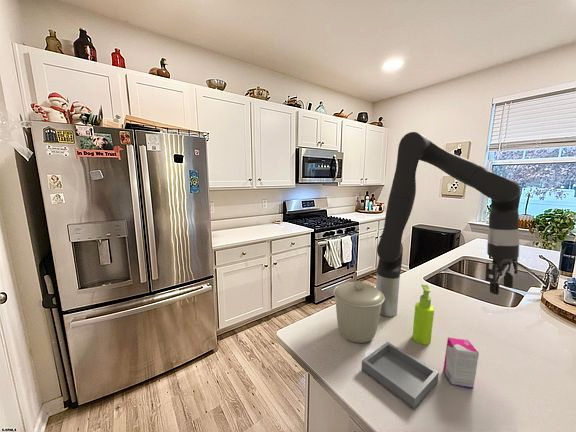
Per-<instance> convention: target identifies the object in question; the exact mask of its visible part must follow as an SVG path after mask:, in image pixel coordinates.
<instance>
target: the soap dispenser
mask: <svg viewBox="0 0 576 432" xmlns="http://www.w3.org/2000/svg"><path fill="white" fill-rule="evenodd" d="M420 286H421V287H422V290H423V293H422V295H420V297H419V301H417V302H416V303H415V305H414V316H413V325H412V326H413V327H412V335H411V336H412V339H413V340H414V341H415V342H416V343H418V344H420V345H424V346H425V345H430V344H431V341H432V333H433V325H434V324H433V323H434V316H435V314H434V313H435V307H434V306H433V305H432V303H431V302H432V297H431V296H430V293H431V289H430V287H429V285H427V284H421V285H420Z"/></svg>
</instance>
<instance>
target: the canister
mask: <svg viewBox="0 0 576 432" xmlns="http://www.w3.org/2000/svg"><path fill="white" fill-rule="evenodd" d="M332 293H333V295H334V298H335V309H336V311H335V312H336V321H337V327H338V331H339V333H340V334H341V335H342V336H343V338H345V339H346V340H348V341H350V342H353V343H356V344H357V343H358V344H360V343H361V344H363V343H364V344H365V343H368V342H370V341H372V340H373V339H374V337H375V335H376V333H377V329H378V325H379V320H380V316H381V315H380V312H381V306H382V303H383V302H384V300H385V297H384V295H383V293H382V292H381V291H379V290H378V289H376V286H373V285H371V284H368V283H364V282H363V281H360V280H356V281H348V282H343V283H341V284H337V286H335V287H334V288H333V292H332Z"/></svg>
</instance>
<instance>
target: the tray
mask: <svg viewBox="0 0 576 432" xmlns="http://www.w3.org/2000/svg"><path fill="white" fill-rule="evenodd" d="M361 371H362V372H363V373H364V374H366V375H367V376H368V377H369V378H371V379H372V380H373V381H374V382H376V383H378V385H380V386H381V387H383V388H384V389H385V390H386V391H388V392H389V393H391V394H392V395H393V397H396V398H397V399H398V400H400V401H401V402H402V403H403V404H405V405H406V406H407V407H409V408H410V409H411V410H413V411H415V410H416V409H417V407H419V405H420V404H421V402H422V401H423V400H424V399H425V398H426V397H427V396H428V395H429V393H430V392H431V391H432V390H433V389H434V388H435V387H436V385H437V384H438V383H439V375H440V372H439V371H438V370H436V369H434V368H433V367H431V366H429V365H428V364H426V363H425V362H422V361H421V360H419V359H417V358H416V357H415V356H413V355H411V354H409V353H407V352H406V351H404V350H403V349H401V348H399V347H397V346H396V345H394V344H393V343H391V342H389V341H386V342H385V343H384V344H382V345H381V346H379V347H378V348H376V349H375V350H374V351H372V352H371V353H370V354H369V355H367V356H366V357H365V358H363V359H362V360H361Z"/></svg>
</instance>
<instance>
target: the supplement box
mask: <svg viewBox="0 0 576 432" xmlns="http://www.w3.org/2000/svg"><path fill="white" fill-rule="evenodd" d="M479 355H480V353H479V351H478V350H477V349H476V348H475V347H474V345H473V344H472V343H471V342H470V340H469V339H462V338H456V337H447V342H446V349H445V356H444V361H443V362H444V363H443V369H442V371H443V373H444V375H445V377H446V379H447V381H448V382H449V384H450V386H452V387H459V388H465V389H469V390H470V389H471V390H473V389H474V385H475V380H476V374H477V367H478V363H479V362H478V361H479Z"/></svg>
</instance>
